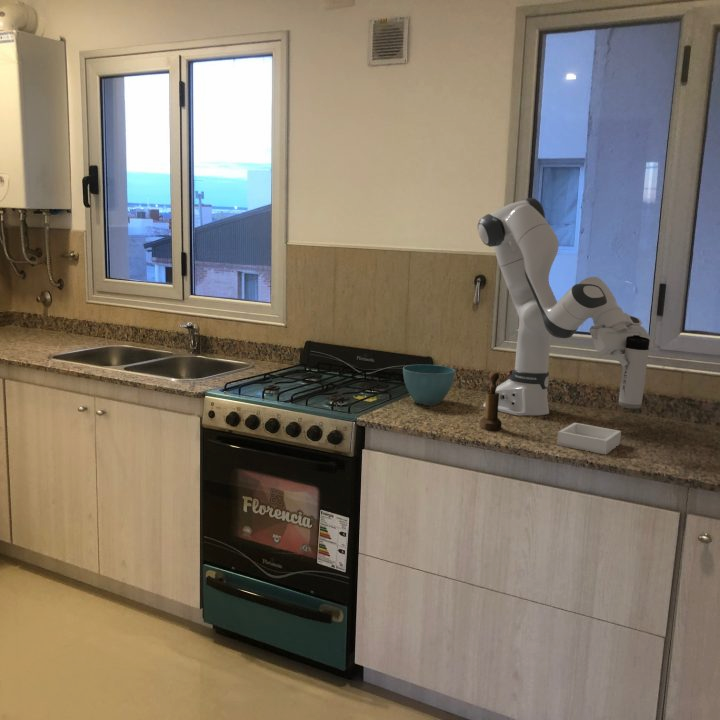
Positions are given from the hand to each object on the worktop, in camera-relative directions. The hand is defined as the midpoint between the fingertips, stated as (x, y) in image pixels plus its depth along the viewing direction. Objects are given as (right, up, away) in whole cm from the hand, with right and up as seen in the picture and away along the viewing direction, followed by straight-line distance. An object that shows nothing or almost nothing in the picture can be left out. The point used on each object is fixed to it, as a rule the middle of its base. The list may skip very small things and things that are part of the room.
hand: (635, 364), depth 209 cm
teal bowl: (-54, -14, +53) cm, 77 cm away
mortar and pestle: (-37, -20, +22) cm, 48 cm away
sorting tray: (-11, -23, +8) cm, 27 cm away
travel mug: (-1, -12, +3) cm, 12 cm away
